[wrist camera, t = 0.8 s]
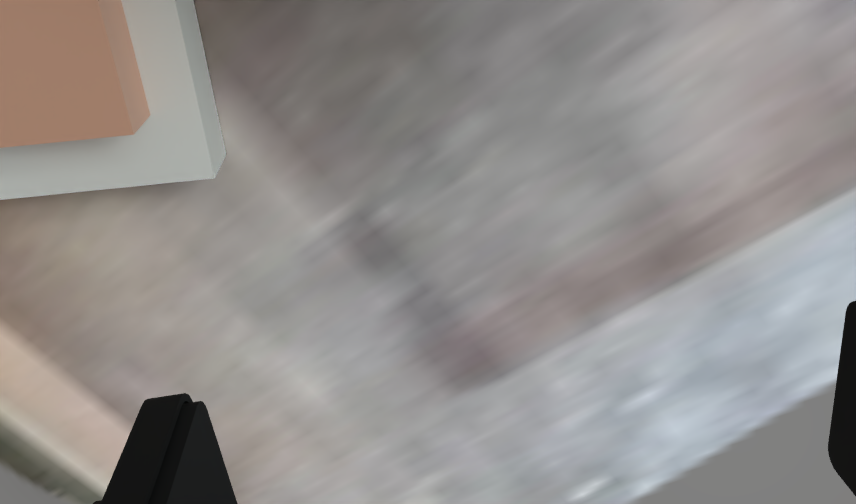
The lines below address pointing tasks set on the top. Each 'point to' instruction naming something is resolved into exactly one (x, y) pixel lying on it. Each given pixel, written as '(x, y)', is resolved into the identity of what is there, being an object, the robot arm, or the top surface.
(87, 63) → the tile
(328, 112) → the top surface
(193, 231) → the top surface
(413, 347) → the top surface
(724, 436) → the top surface
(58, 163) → the plate
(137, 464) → the robot arm
